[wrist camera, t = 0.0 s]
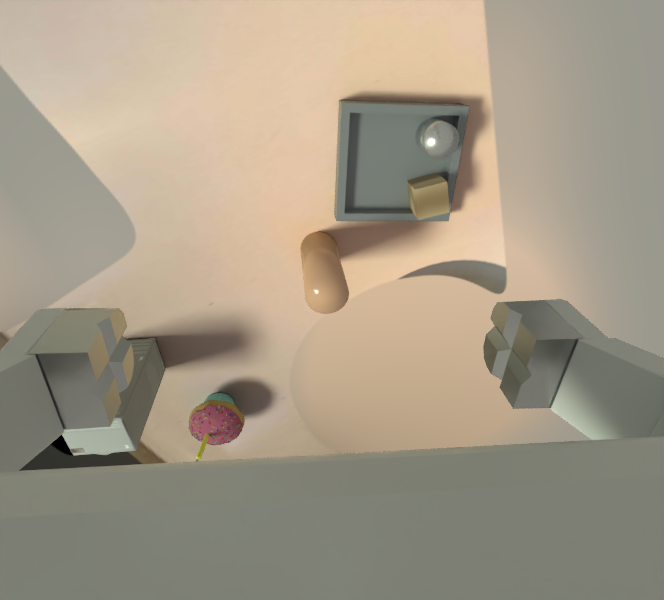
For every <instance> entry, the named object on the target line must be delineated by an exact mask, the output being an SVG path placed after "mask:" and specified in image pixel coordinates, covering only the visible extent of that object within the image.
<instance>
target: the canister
mask: <svg viewBox="0 0 664 600" xmlns="http://www.w3.org/2000/svg"><path fill="white" fill-rule="evenodd" d="M301 258H302V269H303V279H304V290H305V299H306V302H307V304H308V306H309V307H310V308H311V309H312V310H314V311H316V312H318V313H323V314H329V313H333V312H336V311H338V310H340V309H341V308H342V307H343V306H344V305H345V303H346V302H347V300H348V296H349V291H348V287H347V283H346V280H345V276H344V272H343V268H342V265H341V261H340V257H339V253H338V250H337V246H336V243H335V240H334V239H333V238H332V237H331V236H330V235H329V234H327V233H324V232H314V233H311V234H309V235H308V236H307V237H305V239H304V240H303V242H302V244H301Z"/></svg>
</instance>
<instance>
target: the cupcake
mask: <svg viewBox="0 0 664 600" xmlns="http://www.w3.org/2000/svg"><path fill="white" fill-rule="evenodd" d="M243 426H244V416H243V415H242V413H241V412H240V411H239V410H238V408H237V407H236V405H234V401H233V399H232V398H231V397H230V396H229V395H227V394H224V393H215V394H212V395H210V396H208V397H207V399H206V400H205V402H204V403H203V404H201V405H199V406H197V407H196V408H195V409H194V410H193V411H192V412H191V415H190V418H189V429H190V431H191V434H192V436H194V437H195V438H196V439H198V440H199V441H200V442H202V444H201V446H200V449H199V452H198V454H197V457H196V459H197V460H196V461H198V460H200V459H201V456H202V454H203V451H204V448H205V446H206V444H210V445H221V444H224V443H229V442H231V441H232V440H234V439H235V438H237V437H238V436H239V434H240V432H241V430H242V428H243Z"/></svg>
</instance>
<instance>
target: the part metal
mask: <svg viewBox="0 0 664 600" xmlns="http://www.w3.org/2000/svg"><path fill="white" fill-rule="evenodd" d="M416 142H417V145H418V146H419V148H420V149H422V150H423V151H424V152H425V153H427V154H428V155H429V156H431V157H432V158H434V159H438V160H441V159H445V158H448V157H449V156H451V155H452V154H453V153H454V152H455V150H456V149H457V147H458V144H459V134H458V131H457V130H456V128H455V127H454V126H452V125H451V124H449V123H447V122H445V121H443V120H441V119H438V118H429V119H427V120H425V121H424V122H422V123H421V125H420V126H419V127H418V129H417V132H416Z"/></svg>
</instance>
